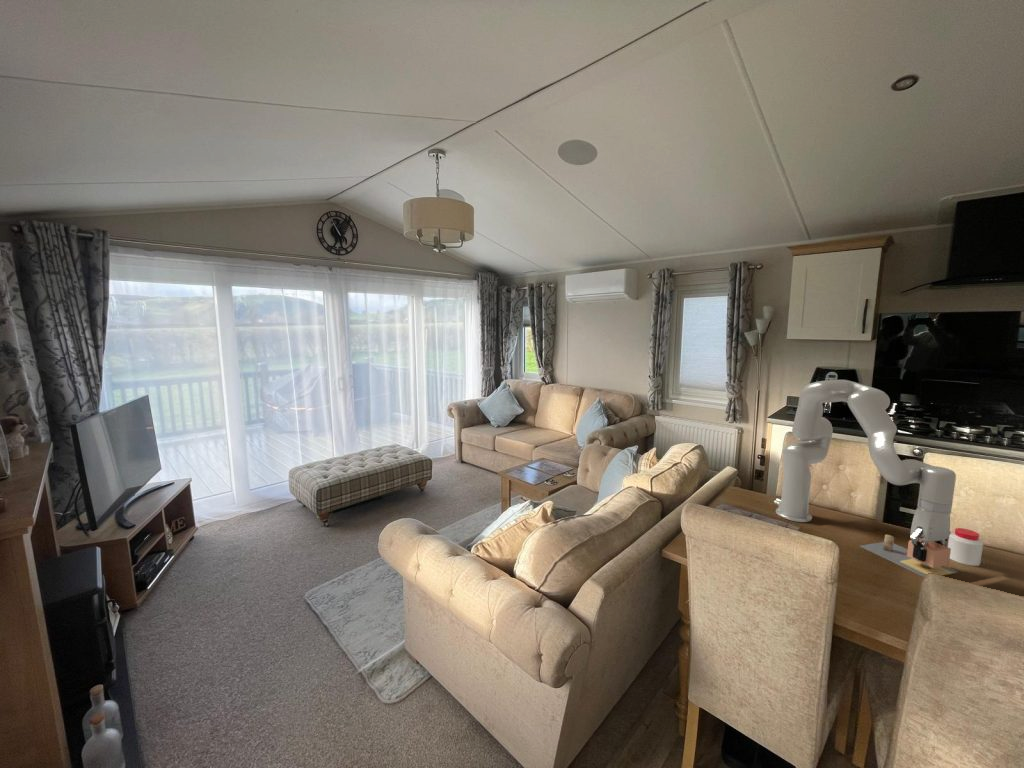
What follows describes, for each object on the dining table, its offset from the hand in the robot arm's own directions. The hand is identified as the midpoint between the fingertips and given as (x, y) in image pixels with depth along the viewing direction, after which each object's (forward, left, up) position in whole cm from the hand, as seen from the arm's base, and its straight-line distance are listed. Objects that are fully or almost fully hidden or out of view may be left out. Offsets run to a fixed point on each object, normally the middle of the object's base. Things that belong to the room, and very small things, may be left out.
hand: (927, 557), depth 133 cm
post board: (-6, 0, -5) cm, 7 cm away
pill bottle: (-1, +18, -5) cm, 19 cm away
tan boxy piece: (0, 0, -1) cm, 1 cm away
